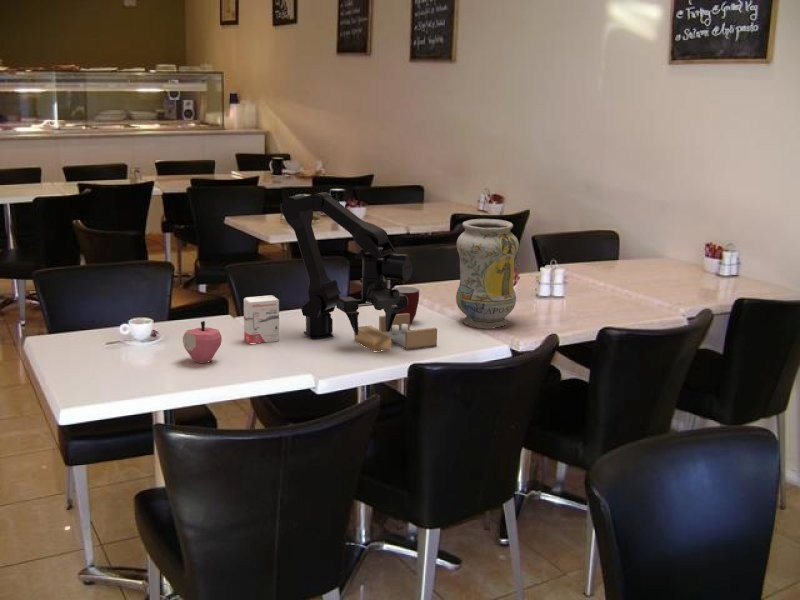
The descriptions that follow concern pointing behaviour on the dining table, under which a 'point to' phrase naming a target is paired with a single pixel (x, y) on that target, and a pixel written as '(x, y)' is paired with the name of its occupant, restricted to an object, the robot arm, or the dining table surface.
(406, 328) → the peg stand
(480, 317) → the vase
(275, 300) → the ink box
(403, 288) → the mug
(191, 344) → the apple
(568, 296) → the dining table surface
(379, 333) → the tan wooden block
